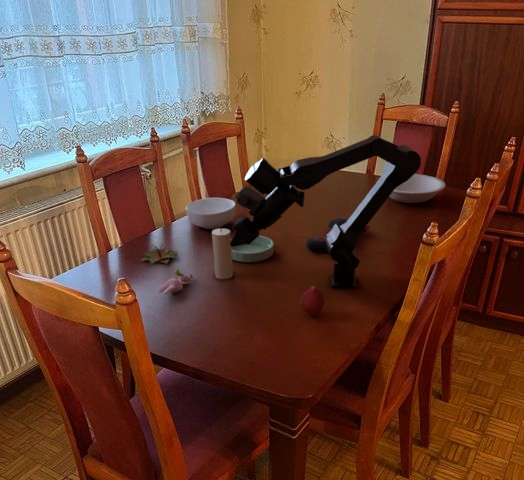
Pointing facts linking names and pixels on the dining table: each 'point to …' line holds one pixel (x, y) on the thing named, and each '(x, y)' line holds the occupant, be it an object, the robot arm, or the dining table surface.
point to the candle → (222, 253)
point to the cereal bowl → (211, 212)
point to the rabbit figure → (175, 283)
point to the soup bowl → (417, 189)
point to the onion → (312, 301)
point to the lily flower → (159, 255)
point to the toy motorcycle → (319, 242)
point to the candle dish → (253, 250)
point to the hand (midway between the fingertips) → (238, 239)
